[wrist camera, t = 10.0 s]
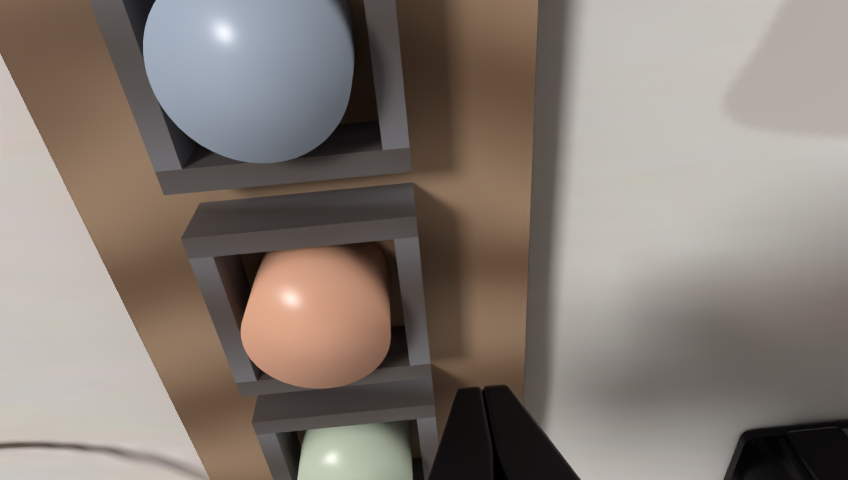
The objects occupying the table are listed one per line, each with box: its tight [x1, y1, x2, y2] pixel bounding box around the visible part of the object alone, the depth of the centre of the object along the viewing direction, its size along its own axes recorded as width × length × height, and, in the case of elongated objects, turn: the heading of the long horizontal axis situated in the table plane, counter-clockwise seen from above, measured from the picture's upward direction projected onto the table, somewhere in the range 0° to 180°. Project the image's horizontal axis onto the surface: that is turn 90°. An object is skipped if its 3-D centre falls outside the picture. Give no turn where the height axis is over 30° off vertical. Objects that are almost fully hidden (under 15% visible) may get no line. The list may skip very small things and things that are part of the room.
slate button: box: [143, 0, 357, 163], centre depth 14 cm, size 4×4×3 cm
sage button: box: [297, 420, 413, 480], centre depth 23 cm, size 4×4×3 cm
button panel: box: [0, 0, 538, 480], centre depth 19 cm, size 26×14×4 cm, turn 4°
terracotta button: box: [241, 241, 391, 389], centre depth 18 cm, size 4×4×3 cm
